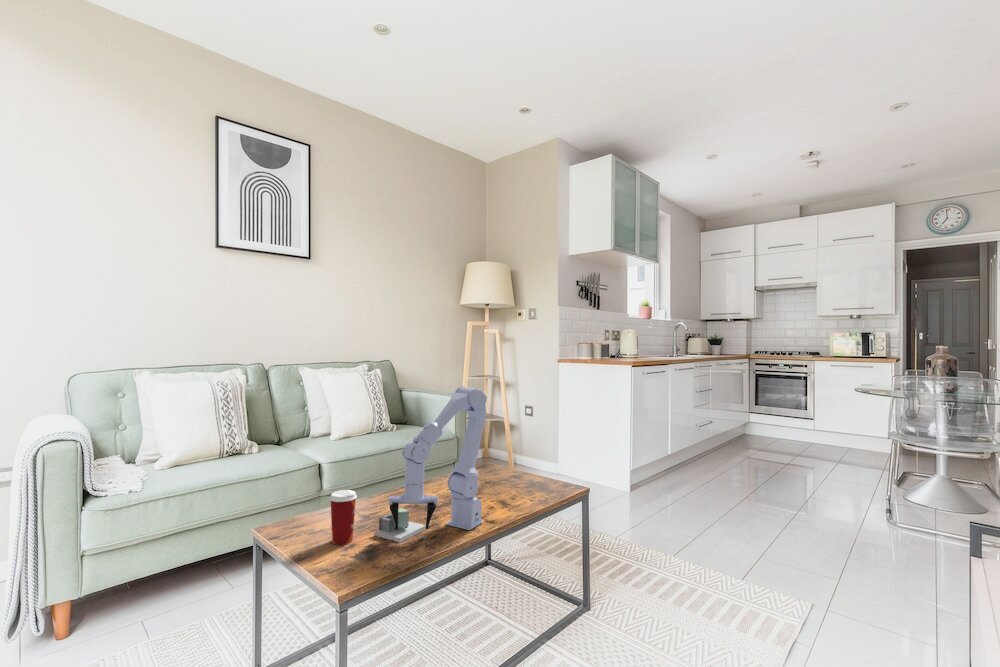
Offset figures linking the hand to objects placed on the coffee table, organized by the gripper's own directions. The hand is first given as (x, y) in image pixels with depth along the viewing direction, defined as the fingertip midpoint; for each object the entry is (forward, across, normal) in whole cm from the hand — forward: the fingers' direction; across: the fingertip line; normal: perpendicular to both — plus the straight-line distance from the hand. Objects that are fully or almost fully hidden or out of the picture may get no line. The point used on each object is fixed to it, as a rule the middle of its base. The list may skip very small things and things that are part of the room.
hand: (412, 528), depth 143 cm
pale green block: (+1, +4, -4) cm, 6 cm away
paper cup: (+3, +20, 0) cm, 20 cm away
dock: (+3, +3, -4) cm, 6 cm away
